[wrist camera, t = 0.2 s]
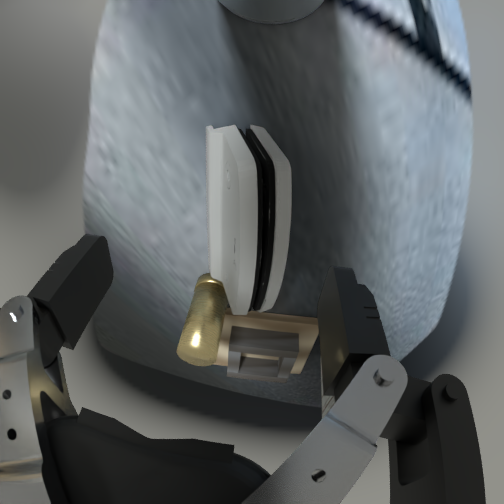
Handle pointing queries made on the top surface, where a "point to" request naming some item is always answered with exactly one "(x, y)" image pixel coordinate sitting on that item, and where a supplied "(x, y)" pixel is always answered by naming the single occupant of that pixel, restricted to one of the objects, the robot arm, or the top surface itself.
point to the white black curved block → (247, 215)
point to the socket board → (271, 324)
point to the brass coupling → (204, 323)
